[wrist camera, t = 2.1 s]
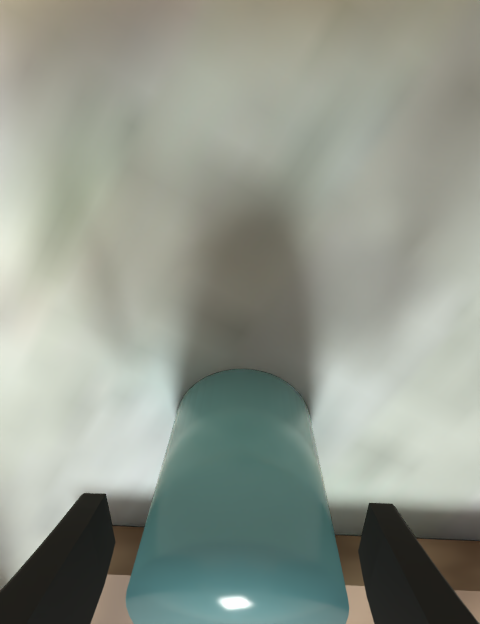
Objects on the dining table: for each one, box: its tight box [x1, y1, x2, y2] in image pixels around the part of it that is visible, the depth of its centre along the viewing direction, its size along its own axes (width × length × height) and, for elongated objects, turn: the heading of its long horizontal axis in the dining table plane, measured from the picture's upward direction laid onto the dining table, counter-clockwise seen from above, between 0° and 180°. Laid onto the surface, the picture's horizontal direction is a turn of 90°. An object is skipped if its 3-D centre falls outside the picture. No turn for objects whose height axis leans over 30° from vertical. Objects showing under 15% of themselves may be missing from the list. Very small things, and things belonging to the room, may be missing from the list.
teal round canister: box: [126, 369, 349, 624], centre depth 11 cm, size 5×5×6 cm
